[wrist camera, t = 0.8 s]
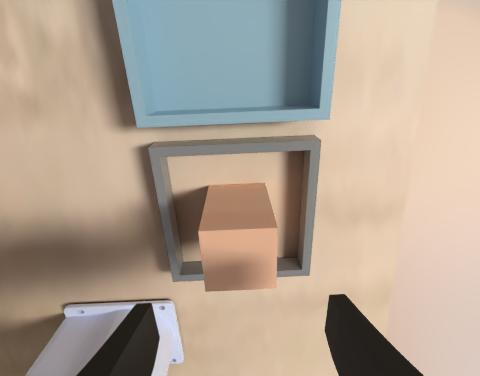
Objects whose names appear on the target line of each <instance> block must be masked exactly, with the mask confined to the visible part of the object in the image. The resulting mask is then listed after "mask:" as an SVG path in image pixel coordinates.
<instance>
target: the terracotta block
mask: <svg viewBox="0 0 480 376" xmlns="http://www.w3.org/2000/svg"><path fill="white" fill-rule="evenodd" d="M198 233H199V242H200V250H201V258H202V266H203V274H204V282H205V290H206V292H207V291H228V290H250V289H272V288H276V281H277V236H278V227H277V224H276V220H275V217H274V213H273V210H272V206H271V203H270V200H269V196H268V193H267V189H266V186H265V183H252V184H229V185H209V188H208V192H207V196H206V201H205V205H204V209H203V213H202V218H201V222H200V226H199V230H198Z"/></svg>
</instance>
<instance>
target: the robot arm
mask: <svg viewBox="0 0 480 376" xmlns="http://www.w3.org/2000/svg"><path fill="white" fill-rule="evenodd" d="M163 306H164V307H163ZM64 314H65V316H66V318H65V319H64V321H63V322H62V324H61V325H60V326H59V328H58V329H57V331H56V332H55V333H54V335H53V336H52V338H51V339H50V341H49V342H48V343H47V345H46V346H45V348H44V349H43V350H42V352H41V353H40V355H39V356H38V358H37V359H36V360H35V362H34V363H33V365H32V366H31V367H30V369H29V370H28V372H27V373H26V375H25V376H167V372H168V368H169V364H177V363H182V362H183V361H184V353H183V348H182V342H181V337H180V332H179V327H178V321H177V316H176V311H175V306H174V303H173V302H172V301H170V300H161V301H139V302H117V303H95V304H73V305H67V306H66V307H65V309H64ZM325 333H326V337H327V341H328V345H329V348H330V352H331V355H332V359H333V361H334V364H335V367H336V369H337V372H338V374H339V376H423V374H421V373H420V372H419V371H418V370H417V369H416V368H415V367H414V366H413V365H412V364H411V363H410V362H409V361H408V360H407V359H406V358H405V357H404V356H403V355H401V354H400V352H399V351H398V350H396V349H395V347H393V345H392V344H391V343H390V342H389V341H387V339H386V338H385V337H384V336H383V335H382V334H381V333H380V332H379V331H378V330H377V329H376V328H375V327H374V326H373V325H372V324H371V323H370V321H369V320H368V319H367V318H366V317H365V316H364V315H363V314H362V313H361V312H360V311H359V309H358V308H357V307H356V306H355V305H354V304H353V303H352V302H351V301H350V299H349V298H348V297H347V296H346V295H345V294H338V295H329V302H328V309H327V317H326V324H325Z"/></svg>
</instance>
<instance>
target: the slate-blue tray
mask: <svg viewBox="0 0 480 376" xmlns="http://www.w3.org/2000/svg"><path fill="white" fill-rule="evenodd" d="M112 2H113V7H114V13H115V18H116V23H117V28H118V33H119V38H120V43H121V48H122V53H123V58H124V63H125V68H126V74H127V79H128V84H129V89H130V94H131V99H132V104H133V109H134V114H135V119H136V124H137V128H144V127H167V126H190V125H213V124H236V123H259V122H282V121H304V120H327V119H330V110H331V100H332V90H333V79H334V69H335V59H336V48H337V38H338V28H339V18H340V7H341V0H112Z"/></svg>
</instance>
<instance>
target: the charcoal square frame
mask: <svg viewBox="0 0 480 376" xmlns="http://www.w3.org/2000/svg"><path fill="white" fill-rule="evenodd" d="M320 148H321V140H320V139H319V138H317V137H316V136H315V135H307V136H284V137H261V138H238V139H215V140H192V141H169V142H155V143H153V144H152V145H151V146H150V147H148V150H149V156H150V161H151V166H152V172H153V177H154V182H155V188H156V193H157V199H158V204H159V209H160V215H161V220H162V226H163V231H164V236H165V242H166V247H167V252H168V258H169V263H170V269H171V274H172V279H173V282H178V281H200V280H204V274H203V266H202V262H183V258H182V251H181V245H180V239H179V232H178V226H177V220H176V213H175V207H174V201H173V195H172V188H171V182H170V176H169V169H168V163H167V157H166V156H189V155H212V154H235V153H258V152H280V151H303V150H304V163H303V179H302V195H301V211H300V228H299V244H298V257H291V258H277V277H289V276H309V275H310V263H311V252H312V240H313V229H314V217H315V206H316V194H317V183H318V171H319V160H320Z"/></svg>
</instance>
